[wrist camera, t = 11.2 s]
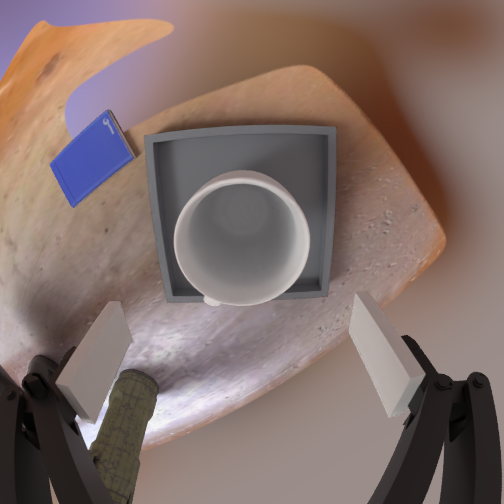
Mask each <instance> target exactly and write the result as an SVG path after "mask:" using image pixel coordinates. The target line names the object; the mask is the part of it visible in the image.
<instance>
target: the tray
mask: <svg viewBox="0 0 504 504" xmlns="http://www.w3.org/2000/svg"><path fill="white" fill-rule="evenodd" d="M144 138H145V153H146V166H147V177H148V187H149V196H150V204H151V212H152V219H153V226H154V233H155V240H156V246H157V252H158V258H159V264H160V269H161V274H162V280H163V285H164V290H165V295H166V299H167V303H189V302H204V300H203V298H204V295H203V294H202V293H201V292H199V291H198V290H197V289H196V288H195V287H194V286H193V285H192V284H191V283H190V282H189V281H188V280H187V278H186V277H185V275H184V274H183V272H182V271H181V269H180V266H179V264H178V262H177V259H176V255H175V250H174V232H175V227H176V223H177V220H178V217H179V215H180V213H181V211H182V209H183V208H184V206H185V205H186V203H187V202H188V201H189V200H190V199H191V198H192V197H193V195H194V194H195V193H196V192H197V191H198V190H199V189H200V188H201V187H202V186H203V185H205V184H206V183H207V182H208V181H210V180H212V179H213V178H215V177H217V176H219V175H222V174H223V173H228V172H230V171H238V170H247V171H248V170H251V171H256V172H260V173H262V174H265V175H267V176H269V177H271V178H272V179H274V180H276V181H277V182H279V183H280V184H281V185H282V186H283V187H284V188H285V189H287V191H288V192H289V193H290V194H291V195H292V197H293V198H294V199H295V201H296V202H297V204H298V205H299V206H300V208H301V210H302V211H303V213H304V215H305V218H306V220H307V223H308V227H309V232H310V249H309V254H308V259H307V262H306V264H305V267H304V269H303V271H302V273H301V274H300V276H299V277H298V279H297V280H296V281H295V282H294V284H293V285H292V286H291V287H290V288H288V289H287V290H286V291H285V292H283V293H282V294H281V295H279V296H277V297H276V298H274V299H272V300H283V299H300V298H315V297H328V290H329V281H330V271H331V261H332V249H333V235H334V220H335V199H336V157H337V142H336V127H328V126H309V125H244V126H224V127H210V128H199V129H189V130H180V131H172V132H165V133H158V134H151V135H145V136H144Z"/></svg>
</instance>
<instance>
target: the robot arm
mask: <svg viewBox="0 0 504 504" xmlns="http://www.w3.org/2000/svg"><path fill="white" fill-rule="evenodd" d="M348 332H349V334H350V336H351V338H352V340H353V342H354V344H355V346H356V348H357V350H358V352H359V354H360V356H361V358H362V360H363V362H364V364H365V367H366V369H367V371H368V373H369V375H370V377H371V379H372V381H373V383H374V386H375V388H376V390H377V392H378V395H379V397H380V399H381V401H382V403H383V406H384V408H385V410H386V412H387V415H388V417H389V418H391V417H395V416H398V415H401V414H403V413H404V412H405V410H406V409H407V407H409V409H410V411H411V413H410V414H409V416H408V417H407V419H406V420H405V422H404V424H403V425H405V427H404V429H403V432H402V435H401V437H400V440H399V442H398V444H397V447H396V449H395V451H394V454H393V456H392V458H391V460H390V462H389V464H388V467H387V468H386V470H385V472H384V474H383V476H382V479H381V481H380V482H379V484H378V486H377V488H376V490H375V491H374V493H373V495H372V497H371V499H370V500H369V502H368V503H367V504H422V503H423V501H424V499H425V496H426V494H427V491H428V489H429V486H430V484H431V481H432V478H433V475H434V472H435V470H436V467H437V463H438V460H439V457H440V454H441V450H442V446H443V443H444V465H443V477H442V487H441V495H440V502H439V504H501V491H502V469H501V468H502V467H501V449H500V440H499V439H500V438H499V430H498V423H497V416H496V410H495V405H494V400H493V395H492V390H491V386H490V382H489V380H488V378H487V377H486V376H485V375H484V374H482V373H480V372H473V373H471V374H470V375H469V377H468V378H467V380H465V381H453V380H452V379H451V378H450V377H449V376H447V375H445V374H438V372H437V371H436V369H435V368H434V367H433V365H432V364H431V363H430V361H429V359H428V358H427V356H426V355H425V354H424V352H423V351H422V349H420V347H419V345H418V344H417V343H416V341H415V340H414V339H412V338H411V337H410V336H408V335H404V336H400V335H399V334H398V332H397V331H396V329H395V328H394V326H393V325H392V324H391V322H390V321H389V319H388V318H387V317H386V315H385V314H384V313H383V311H382V310H381V308H380V307H379V306H378V304H377V303H376V302H375V300H374V299H373V298H372V296H371V295H370V294H369V292H368V291H364V292H356V293H355V298H354V304H353V310H352V315H351V320H350V325H349V330H348ZM131 341H132V337H131V334H130V331H129V328H128V325H127V322H126V319H125V315H124V312H123V309H122V306H121V302H120V301H109V302H108V303H107V305H106V306H105V307H104V309H103V310H102V312H101V313H100V314H99V316H98V317H97V319H96V320H95V322H94V323H93V324H92V326H91V327H90V329H89V330H88V332H87V333H86V335H85V336H84V338H83V339H82V341H81V342H80V344H79V345H78V347H75V346H74V347H72V348H71V349H70V350H69V351H68V352H67V353H66V354H65V356H64V357H63V360H61V362H60V363H59V365H57V364H56V363H54V362H53V361H51V360H49V359H47V358H45V357H42V356H35V357H34V358H33V359H32V361H31V362H30V364H29V367H28V372H27V375H26V376H25V377H24V379H23V380H22V386H23V387H22V388H20V387H19V386H18V385H17V384H16V383H15V381H14V380H13V379H12V378H11V377H10V376H9V375H8V374H7V372H6V371H5V370H4V369H3V368H2V366H1V365H0V504H53V503H52V497H51V490H50V483H49V478H50V481H51V483H52V486H53V489H54V491H55V494H56V497H57V499H58V502H59V504H115V502H114V501H113V499H112V497H111V495H110V494H109V492H108V490H107V488H106V486H105V485H104V483H103V481H102V479H101V477H100V475H99V473H98V471H97V469H96V467H95V465H94V462H93V460H92V458H91V456H90V454H89V451H88V449H87V447H86V444H85V442H84V439H83V437H82V434H81V432H80V429H79V426H78V424H77V422H76V420H75V417H76V415H78V416H79V417H80V419H81V420H82V421H84V422H87V423H91V424H95V423H96V421H97V418H98V416H99V413H100V411H101V408H102V406H103V403H104V401H105V399H106V396H107V394H108V392H109V389H110V387H111V385H112V382H113V380H114V378H115V375H116V373H117V371H118V369H119V367H120V364H121V362H122V360H123V358H124V356H125V353H126V351H127V349H128V347H129V345H130V343H131Z"/></svg>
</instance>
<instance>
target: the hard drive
mask: <svg viewBox="0 0 504 504" xmlns="http://www.w3.org/2000/svg"><path fill="white" fill-rule="evenodd" d="M135 158H136V156H135V155H134V153H133V151H132V149H131V148H130V146H129V144H128V142H127V140H126V139H125V137H124V135H123V131H122V129H121V127H120V125H119V123H118V121H117V120H116V118H115V116H114V114H113V112H112V111H111V110H106V111H105V112H104V113H102V114H101V115H100V116H99V117H98V118H97V119H95V120H94V121H93V122H92V123H91V124H90V125H89V126H87V127H86V128H85V129H84V130H83V131H82V132H81V133H80V134H79V135H78V136H77V137H76V138H75V139H73V140H72V141H71V142H70V143H69V144H68V145H67V146H66V147H65V148H64V149H63V150H62V151H61V152H60V154H59V155H58V156H57V157H56V158H55V159H54V160H53V161H52V162H51V163H50V167H51V169H52V171H53V173H54V175H55V177H56V179H57V181H58V183H59V185H60V187H61V188H62V190H63V192H64V194H65V196H66V198H67V200H68V201H69V203H70V205H71V206H72V207H73V208H75V207H76V206H77V205H78V204H80V203H81V202H82V201H83V200H84V199H85V198H86V197H88V196H89V195H90V194H91V193H92V192H93V191H95V190H96V189H97V188H98V187H99V186H101V185H102V184H103V183H104V182H106V181H107V180H108V179H109V178H110V177H112V176H113V175H114V174H116V173H117V172H118V171H119V170H121V169H122V168H123V167H125V166H126V165H127V164H129V163H130V162H131V161H133V160H134V159H135Z"/></svg>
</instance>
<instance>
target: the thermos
mask: <svg viewBox="0 0 504 504" xmlns="http://www.w3.org/2000/svg"><path fill="white" fill-rule="evenodd" d="M158 391H159V388H158V385H157V383H156V382H155V381H154V380H153V379H152V378H151V377H150V376H148V375H147V374H145V373H142V372H140V371H137V370H124V371H122V372H121V373H120V375H119V378H118V380H117V381H116V382H115V385H114V387H113V389H112V392H111V394H110V396H109V406H108V409H107V412H106V414H105V417H104V419H103V422H102V424H101V427H100V430H99V432H98V435H97V438H96V440H95V441H94V442H92V443H91V446H90V449H89V450H88V451H89V454H90V456H91V458H92V460H93V462H94V465H95V467H96V469H97V471H98V473H99V475H100V477H101V479H102V481H103V483H104V485H105V486H106V488H107V490H108V492H109V494H110V495H111V497H112V499H113V501H114V502H115V504H132V500H133V495H134V490H135V485H136V480H137V476H138V471H139V467H140V461H139V454H140V450H141V446H142V443H143V439H144V435H145V431H146V427H147V423H148V421H149V420H150V419H151V417H152V416H153V412H154V409H155V405H156V401H157V394H158Z"/></svg>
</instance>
